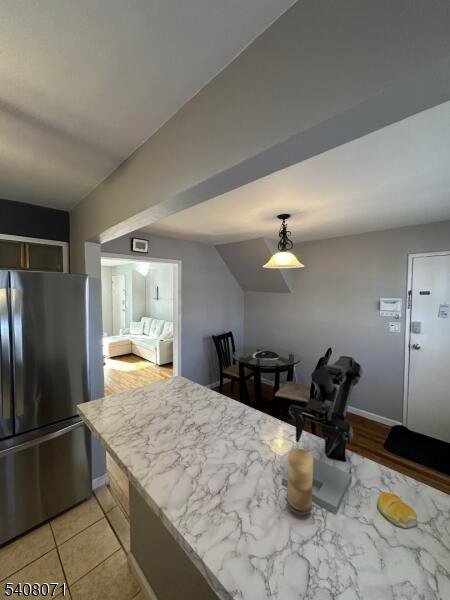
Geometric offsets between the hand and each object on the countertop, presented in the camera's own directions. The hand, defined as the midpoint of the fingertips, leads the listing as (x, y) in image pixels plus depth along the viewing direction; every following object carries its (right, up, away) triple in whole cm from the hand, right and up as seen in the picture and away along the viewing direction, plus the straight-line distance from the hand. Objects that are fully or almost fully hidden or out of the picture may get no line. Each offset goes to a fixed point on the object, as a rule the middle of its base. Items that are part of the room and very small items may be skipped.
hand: (311, 448), depth 74 cm
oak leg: (-5, -13, -6) cm, 16 cm away
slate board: (+3, -14, +4) cm, 15 cm away
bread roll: (+21, -15, -6) cm, 26 cm away
